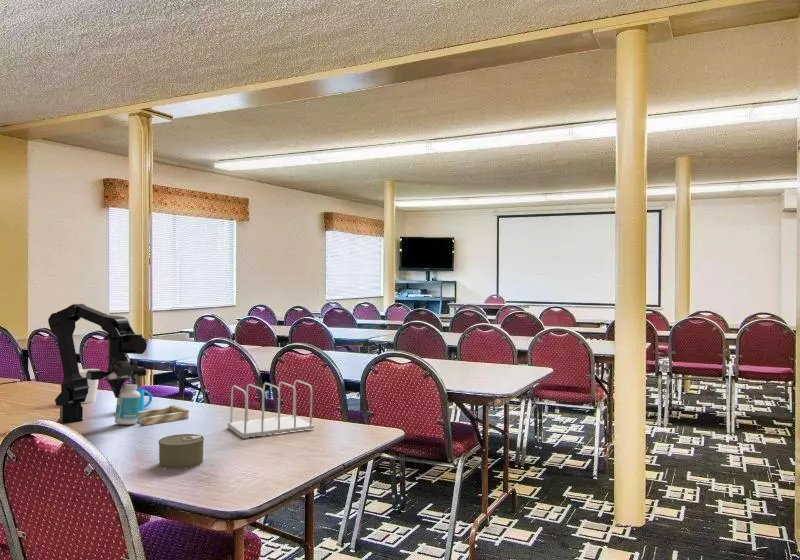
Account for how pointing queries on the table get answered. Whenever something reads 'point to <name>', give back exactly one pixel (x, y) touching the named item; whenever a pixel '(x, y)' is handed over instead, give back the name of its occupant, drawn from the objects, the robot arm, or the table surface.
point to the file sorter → (270, 424)
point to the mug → (141, 404)
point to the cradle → (162, 415)
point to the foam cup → (90, 387)
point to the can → (181, 451)
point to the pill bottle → (127, 405)
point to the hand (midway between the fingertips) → (116, 397)
